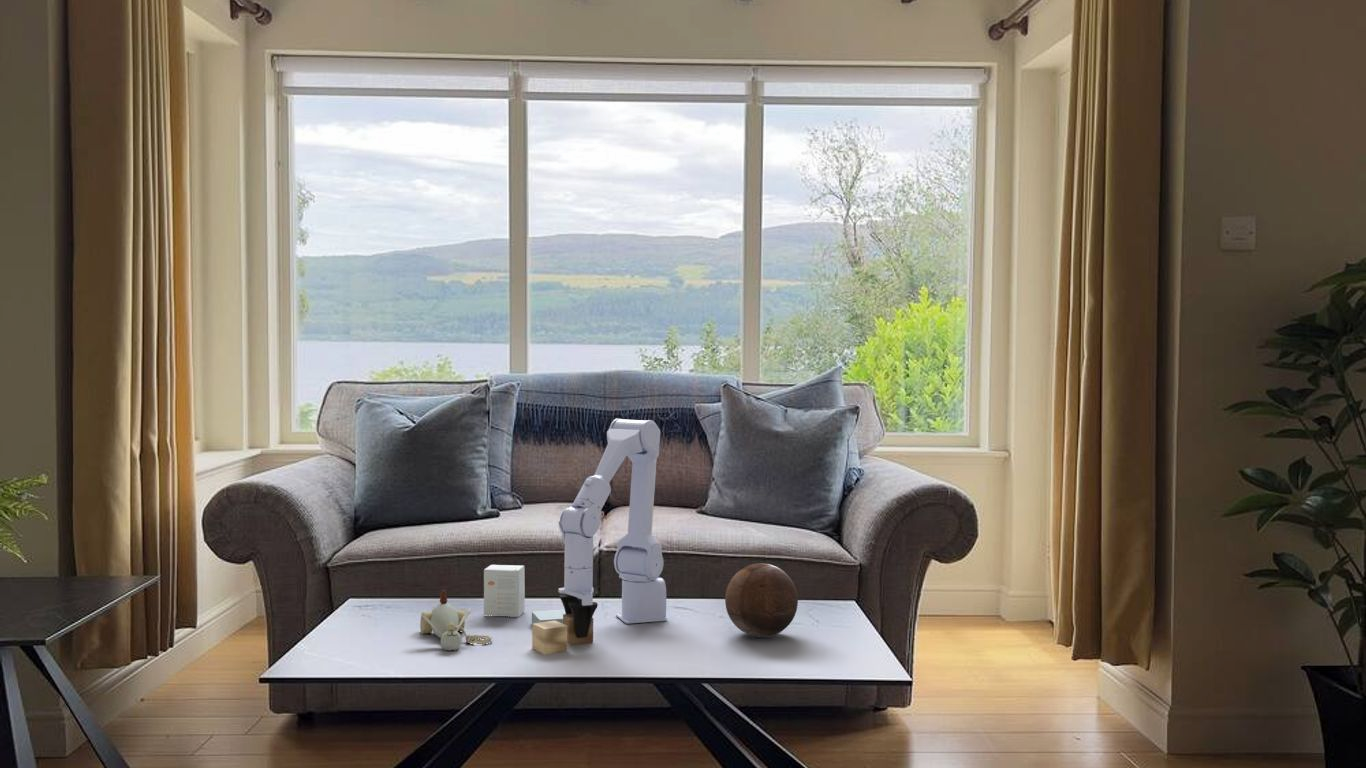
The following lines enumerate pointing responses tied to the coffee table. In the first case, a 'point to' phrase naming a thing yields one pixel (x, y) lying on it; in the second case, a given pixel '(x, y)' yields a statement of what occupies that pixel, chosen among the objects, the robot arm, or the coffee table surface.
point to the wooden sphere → (761, 600)
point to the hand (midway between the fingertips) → (577, 633)
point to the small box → (504, 590)
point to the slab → (548, 616)
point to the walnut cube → (571, 633)
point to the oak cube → (549, 637)
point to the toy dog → (448, 625)
